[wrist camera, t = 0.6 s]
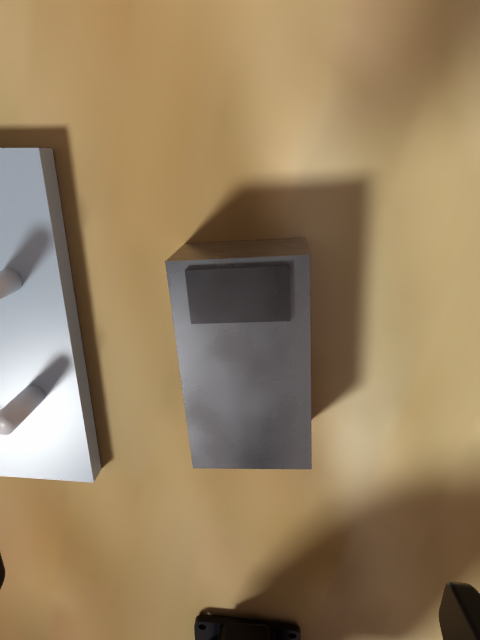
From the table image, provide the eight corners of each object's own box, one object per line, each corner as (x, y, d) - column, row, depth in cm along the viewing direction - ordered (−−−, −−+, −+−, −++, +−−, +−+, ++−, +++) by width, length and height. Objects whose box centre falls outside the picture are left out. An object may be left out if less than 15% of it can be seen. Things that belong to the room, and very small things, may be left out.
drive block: (306, 419, 20) (312, 472, 17) (206, 419, 21) (191, 471, 18) (304, 236, 17) (310, 256, 14) (186, 242, 18) (163, 262, 14)
